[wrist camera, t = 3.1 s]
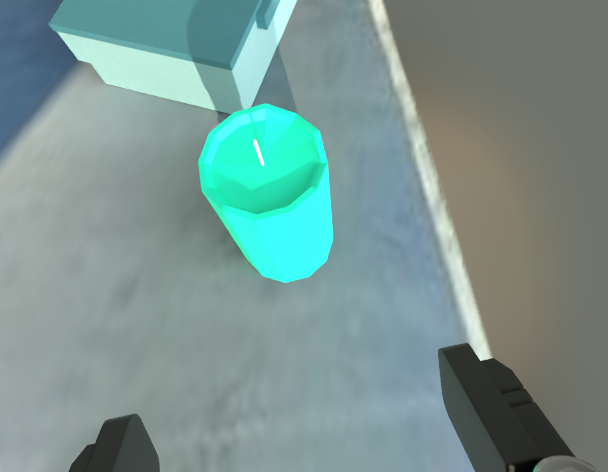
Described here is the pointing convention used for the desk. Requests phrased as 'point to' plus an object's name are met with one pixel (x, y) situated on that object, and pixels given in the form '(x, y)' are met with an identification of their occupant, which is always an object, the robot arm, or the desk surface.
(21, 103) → the desk surface
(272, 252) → the candle
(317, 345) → the desk surface
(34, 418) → the desk surface
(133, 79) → the food tub
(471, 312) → the desk surface
